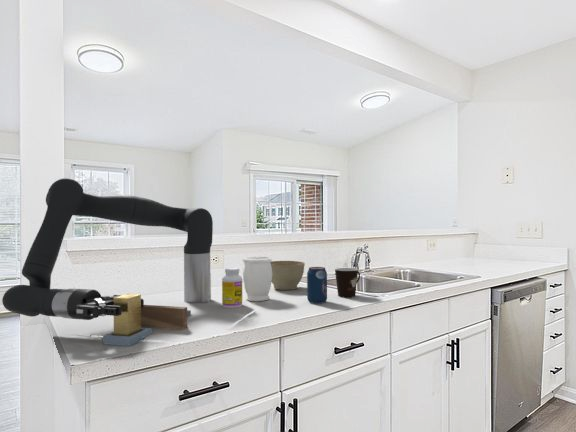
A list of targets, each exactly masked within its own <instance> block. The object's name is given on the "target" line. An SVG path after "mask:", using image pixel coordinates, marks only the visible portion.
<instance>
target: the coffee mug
mask: <svg viewBox="0 0 576 432" xmlns="http://www.w3.org/2000/svg"><path fill="white" fill-rule="evenodd" d="M334 271H335V280H336V281H335V283H336V289H337V296H338V297H340V298H343V299H344V298H350V299H351V298H355V297H356V292H357V284H358V283H359V280H361V272H360V271H359V269H358V268H355V267H340V268H339V267H337V268H334Z"/></svg>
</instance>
